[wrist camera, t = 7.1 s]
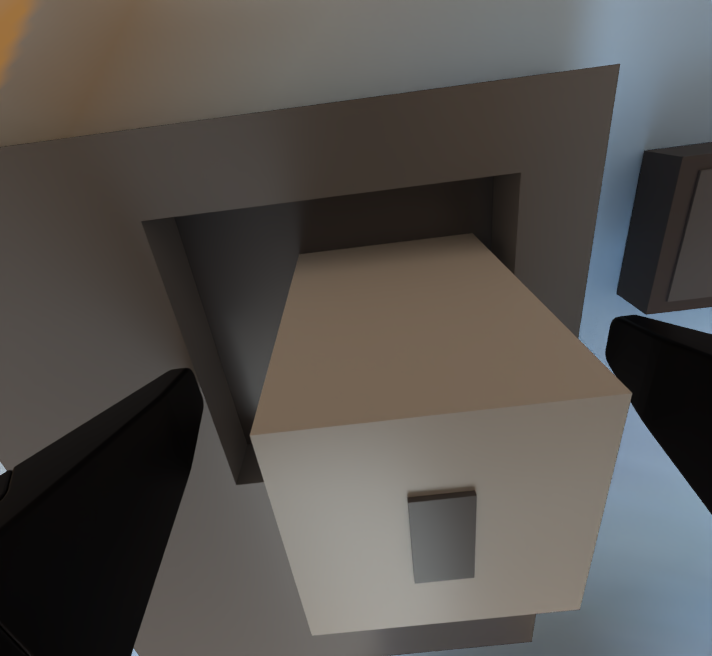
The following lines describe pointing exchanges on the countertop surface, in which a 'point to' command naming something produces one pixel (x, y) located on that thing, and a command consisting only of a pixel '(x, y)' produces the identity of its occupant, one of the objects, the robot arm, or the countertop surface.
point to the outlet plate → (268, 297)
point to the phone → (671, 232)
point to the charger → (432, 439)
